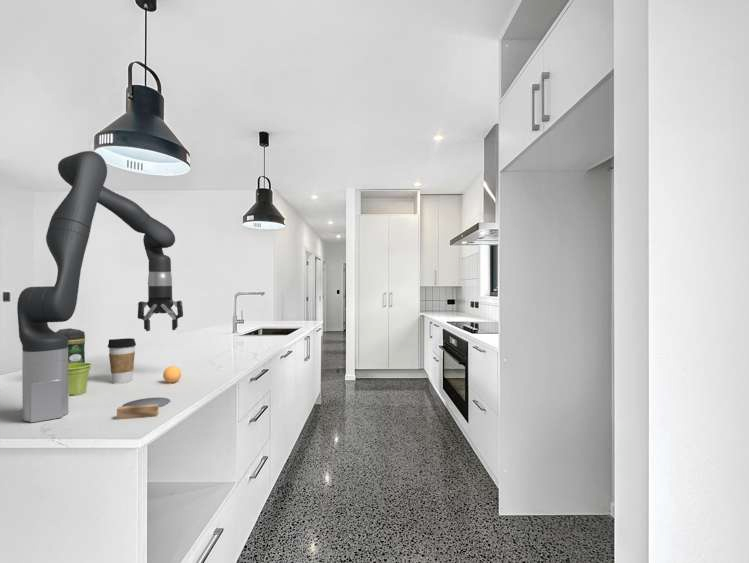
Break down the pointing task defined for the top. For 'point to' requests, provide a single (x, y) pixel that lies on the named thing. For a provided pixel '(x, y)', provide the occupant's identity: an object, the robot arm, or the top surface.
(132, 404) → the disc
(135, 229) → the robot arm
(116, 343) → the coffee cup
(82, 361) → the coffee jar
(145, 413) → the block
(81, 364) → the plant pot
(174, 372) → the ball
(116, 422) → the top surface
